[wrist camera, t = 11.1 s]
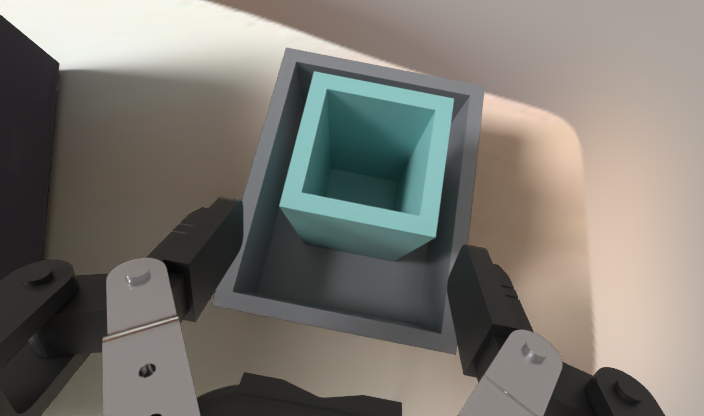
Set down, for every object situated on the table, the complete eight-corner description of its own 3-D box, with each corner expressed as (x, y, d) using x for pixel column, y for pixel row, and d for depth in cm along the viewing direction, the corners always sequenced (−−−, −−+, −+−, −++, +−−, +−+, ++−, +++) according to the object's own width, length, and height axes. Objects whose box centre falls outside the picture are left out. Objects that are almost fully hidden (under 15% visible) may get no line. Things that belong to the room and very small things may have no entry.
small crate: (393, 261, 22) (435, 237, 13) (304, 244, 22) (279, 206, 13) (406, 177, 24) (454, 98, 14) (323, 161, 24) (314, 71, 14)
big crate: (424, 338, 22) (455, 354, 16) (245, 302, 22) (211, 305, 16) (451, 133, 26) (484, 86, 20) (297, 102, 26) (286, 47, 20)
